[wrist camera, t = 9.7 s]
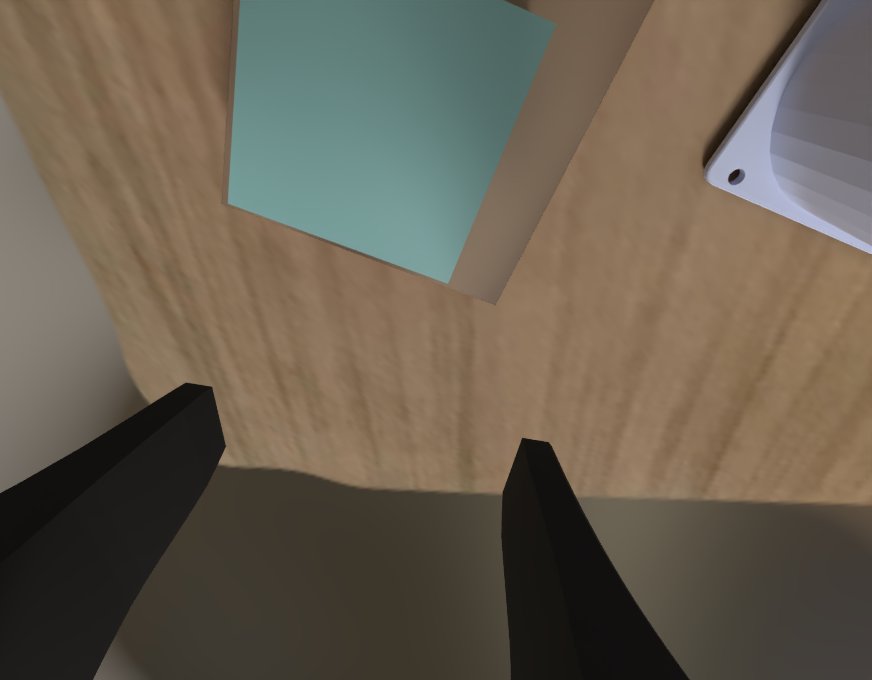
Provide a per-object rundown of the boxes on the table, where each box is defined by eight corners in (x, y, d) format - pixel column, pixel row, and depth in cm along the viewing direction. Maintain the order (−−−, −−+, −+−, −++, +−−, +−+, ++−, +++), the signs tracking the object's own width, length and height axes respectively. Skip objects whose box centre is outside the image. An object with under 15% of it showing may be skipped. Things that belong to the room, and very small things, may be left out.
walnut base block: (638, -24, 12) (675, -40, 10) (494, 269, 18) (495, 304, 16) (300, -189, 11) (248, -254, 9) (260, 180, 17) (221, 203, 14)
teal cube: (530, 30, 11) (556, 23, 7) (459, 212, 14) (447, 283, 10) (341, -54, 10) (247, -116, 6) (308, 153, 13) (227, 203, 9)
